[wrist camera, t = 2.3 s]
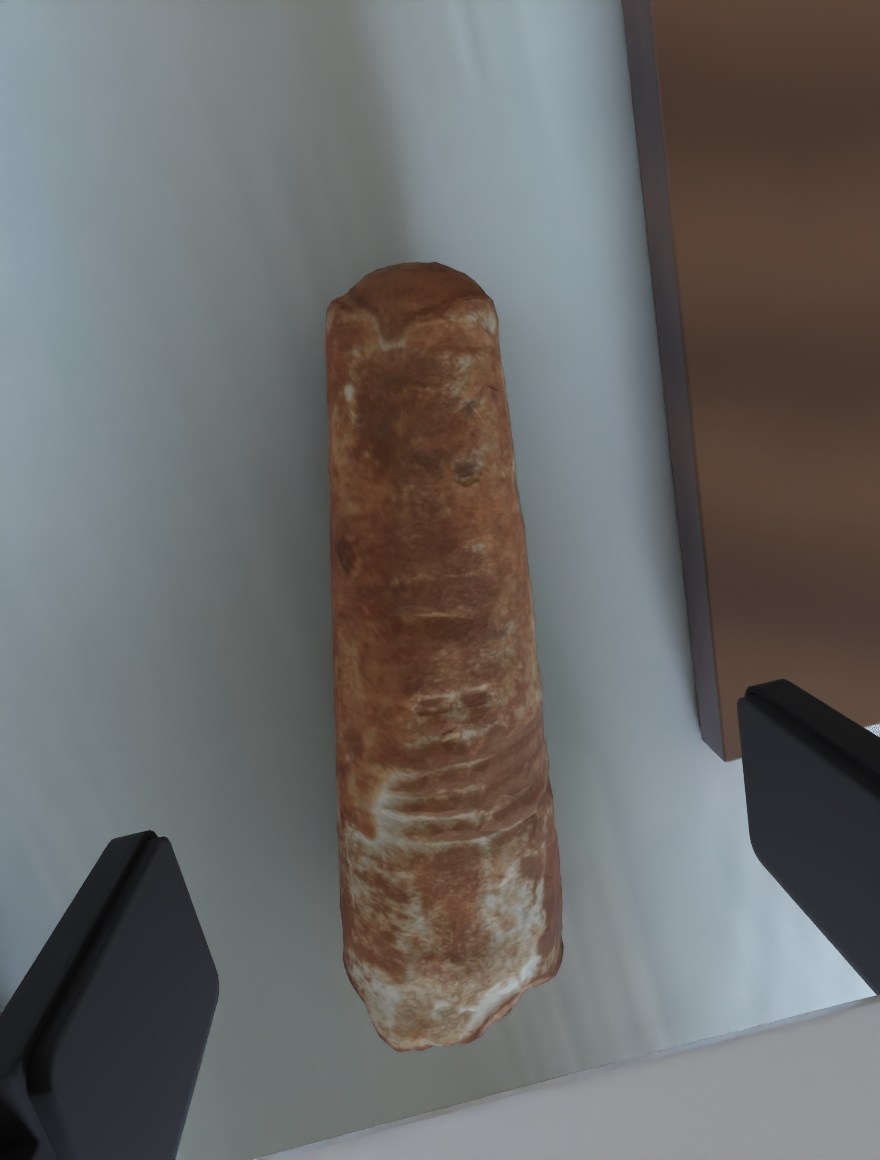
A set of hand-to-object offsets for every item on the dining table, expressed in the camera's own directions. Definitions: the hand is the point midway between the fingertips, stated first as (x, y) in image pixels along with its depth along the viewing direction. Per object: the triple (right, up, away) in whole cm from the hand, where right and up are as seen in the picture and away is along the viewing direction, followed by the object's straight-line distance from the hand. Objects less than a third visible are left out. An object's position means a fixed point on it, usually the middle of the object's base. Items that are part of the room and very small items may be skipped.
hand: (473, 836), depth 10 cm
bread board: (+12, +11, +8) cm, 18 cm away
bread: (-2, +3, +9) cm, 10 cm away
